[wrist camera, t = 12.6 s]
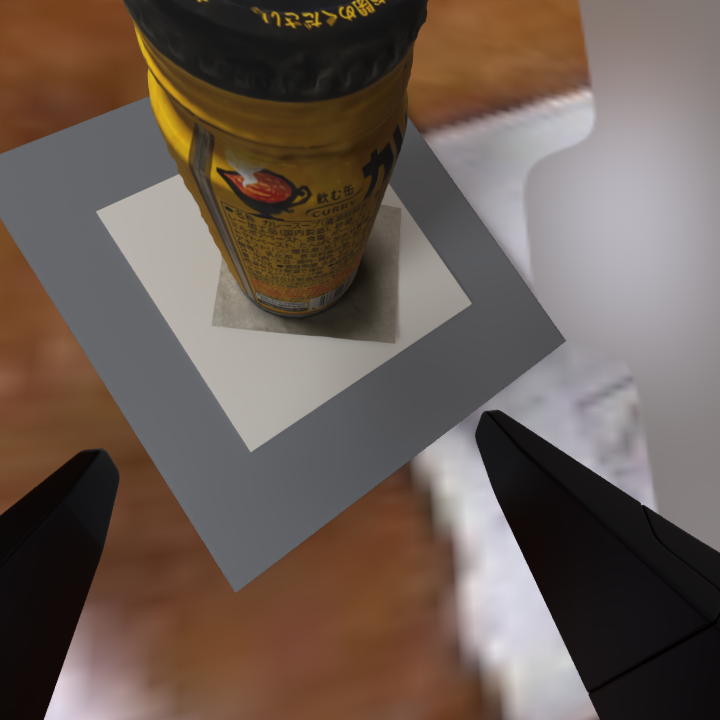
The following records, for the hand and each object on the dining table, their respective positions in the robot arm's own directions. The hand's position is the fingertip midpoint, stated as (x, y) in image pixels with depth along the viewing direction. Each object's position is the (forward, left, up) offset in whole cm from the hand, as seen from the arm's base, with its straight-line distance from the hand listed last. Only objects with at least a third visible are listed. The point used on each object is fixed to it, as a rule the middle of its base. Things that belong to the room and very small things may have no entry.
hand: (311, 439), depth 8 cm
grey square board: (+2, -8, -9) cm, 12 cm away
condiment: (+2, -8, -8) cm, 11 cm away
